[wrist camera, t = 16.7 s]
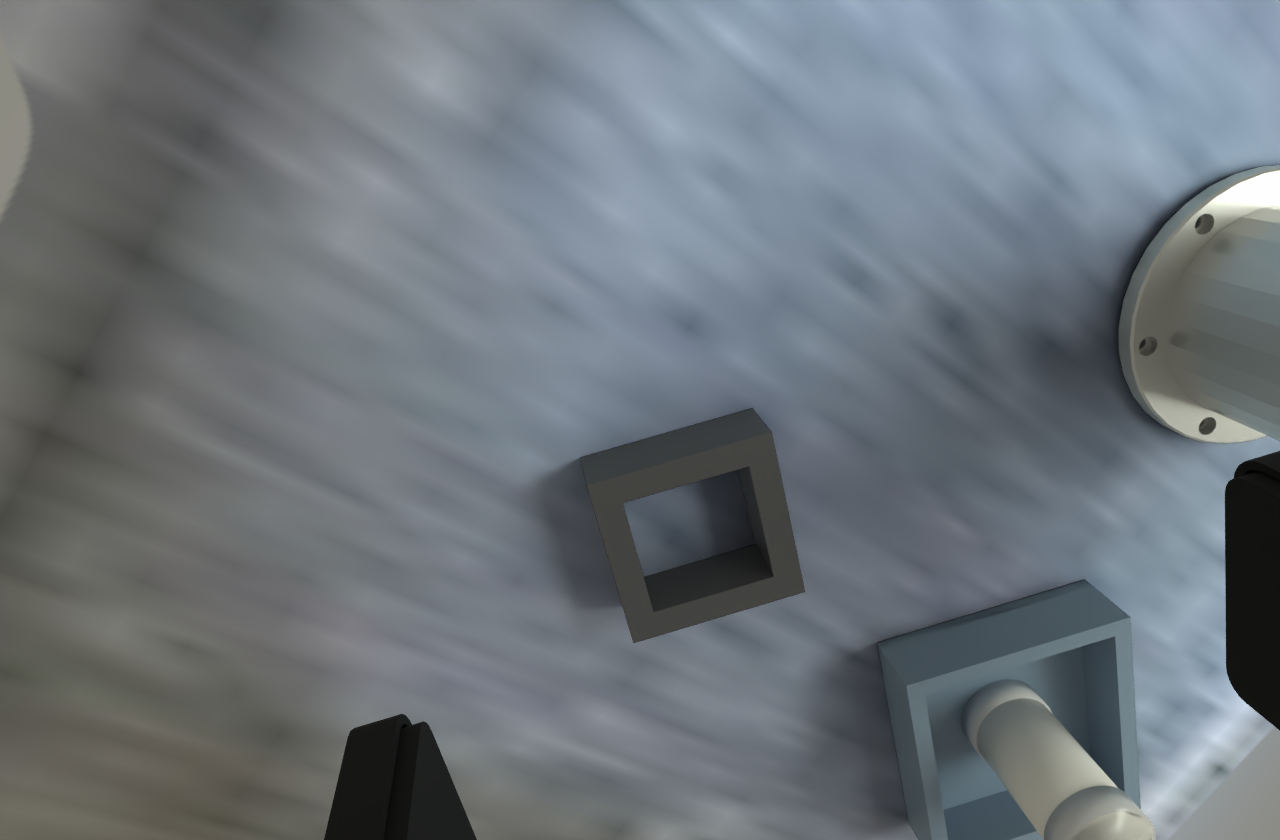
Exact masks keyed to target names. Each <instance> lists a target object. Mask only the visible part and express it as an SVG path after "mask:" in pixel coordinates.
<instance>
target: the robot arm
mask: <svg viewBox="0 0 1280 840" xmlns="http://www.w3.org/2000/svg"><path fill="white" fill-rule="evenodd" d="M1119 355H1120V360H1121V365H1122V370H1123V375H1124V377H1125V379H1126V382H1127V384H1128V386H1129V388H1130V391H1131V393H1132V395H1133V396H1134V398H1135V399H1136V400H1137V402H1138V403H1139V404H1140V405H1141V407H1142V408H1143V409H1144V411H1145V412H1146V413H1147V414H1149V415H1150V416H1151V417H1152V418H1154V419H1155V420H1156V421H1158V422H1159V423H1160V424H1161V425H1163V426H1165V427H1167V428H1169V429H1171V430H1173V431H1175V432H1177V433H1179V434H1181V435H1183V436H1185V437H1188V438H1191V439H1194V440H1197V441H1200V442H1207V443H1218V444H1231V443H1240V442H1249V441H1252V440H1256V439H1259V438H1262V437H1266V436H1269V437H1272V438H1274V439H1276V440H1278V441H1280V165H1272V166H1261V167H1257V168H1254V169H1250V170H1247V171H1243V172H1239V173H1236V174H1234V175H1232V176H1230V177H1228V178H1226V179H1223V180H1221V181H1219V182H1217V183H1215V184H1213V185H1211V186H1209V187H1208V188H1207V189H1205V190H1204V191H1202V192H1201V193H1200V194H1198V195H1197V196H1195V197H1194V198H1193V199H1191V200H1190V201H1188V202H1187V203H1186V204H1185V205H1184V206H1183V207H1182V208H1181V209H1180V210H1179V211H1178V212H1177V213H1176V214H1175V215H1174V216H1173V217H1172V218H1171V219H1169V220H1168V221H1167V222H1166V223H1165V224H1164V226H1163V227H1162V228H1161V230H1160V231H1159V232H1158V234H1157V235H1156V236H1155V238H1154V239H1153V240H1152V242H1151V243H1150V244H1149V246H1148V247H1147V249H1146V250H1145V252H1144V254H1143V256H1142V258H1141V260H1140V261H1139V263H1138V265H1137V267H1136V269H1135V271H1134V273H1133V275H1132V278H1131V280H1130V283H1129V286H1128V289H1127V292H1126V295H1125V297H1124V300H1123V306H1122V311H1121V317H1120V322H1119ZM1225 559H1226V668H1227V674H1228V677H1229V680H1230V682H1231V684H1232V686H1233V688H1234V690H1235V691H1236V692H1237V694H1238V695H1239V696H1240V697H1241V698H1242V699H1243V700H1244V701H1245V702H1246V703H1247V704H1248V705H1249V706H1251V707H1252V708H1253V709H1254V710H1256V711H1257V712H1258V713H1259V714H1260V715H1262V716H1263V717H1264V718H1265V719H1267V720H1268V721H1269V722H1270V723H1271V724H1273V725H1274V726H1275V727H1276V728H1278V729H1279V730H1280V451H1278V452H1275V453H1272V454H1268V455H1265V456H1262V457H1258V458H1255V459H1252V460H1248V461H1245V462H1243V463H1242V464H1240V465H1239V466H1238V468H1237V469H1236V471H1235V474H1234V478H1233V479H1232V480H1230V481H1229V482H1228V484H1227V486H1226V490H1225ZM324 840H477V839H476V837H475V834H474V832H473V830H472V827H471V825H470V822H469V820H468V817H467V815H466V813H465V810H464V808H463V805H462V803H461V801H460V798H459V796H458V793H457V791H456V789H455V786H454V784H453V781H452V779H451V777H450V774H449V772H448V769H447V767H446V764H445V762H444V760H443V757H442V755H441V752H440V750H439V748H438V745H437V743H436V740H435V738H434V736H433V733H432V731H431V729H430V727H429V725H428V724H427V723H426V722H421V723H417V724H414V725H412V724H411V722H410V720H409V719H408V718H407V716H406V715H403V714H400V715H397V716H393V717H390V718H387V719H383V720H380V721H377V722H373V723H370V724H367V725H363V726H360V727H357V728H354V729H353V730H351V731H350V734H349V736H348V739H347V744H346V748H345V752H344V756H343V761H342V765H341V769H340V774H339V778H338V782H337V787H336V791H335V795H334V800H333V804H332V808H331V812H330V817H329V821H328V825H327V830H326V834H325V838H324Z"/></svg>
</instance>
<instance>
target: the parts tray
mask: <svg viewBox="0 0 1280 840" xmlns="http://www.w3.org/2000/svg"><path fill="white" fill-rule="evenodd" d="M877 647H878V653H879V658H880V664H881V669H882V675H883V681H884V686H885V692H886V697H887V703H888V708H889V714H890V720H891V725H892V731H893V736H894V742H895V748H896V753H897V759H898V764H899V770H900V776H901V781H902V787H903V792H904V798H905V804H906V809H907V815H908V820H909V824H910V826H911V827H912V829H913V831H914V833H915V834H916V836H917V838H918V840H1043V839H1042V837H1041V836H1040V834H1039V833H1038V832H1037V830H1036V829H1035V828H1034V826H1033V825H1032V823H1031V822H1030V821H1029V819H1028V818H1027V817H1026V815H1025V814H1024V812H1023V811H1022V810H1021V808H1020V807H1019V806H1018V804H1017V803H1016V801H1015V800H1014V799H1013V797H1012V796H1011V795H1010V793H1009V792H1008V790H1007V789H1006V788H1005V786H1004V785H1003V784H1002V782H1001V781H1000V779H999V778H998V777H997V775H996V774H995V773H994V771H993V770H992V769H991V767H990V766H989V764H988V763H987V762H986V761H985V760H984V759H982V758H981V757H980V755H979V754H978V753H977V751H976V750H975V749H974V747H973V746H972V744H971V743H970V742H969V740H968V739H967V738H966V736H965V734H964V733H963V730H962V726H961V718H962V713H963V710H964V708H965V706H966V704H967V703H968V701H969V700H970V698H971V697H972V696H973V695H974V694H975V693H976V692H977V691H979V690H980V689H981V688H983V687H984V686H986V685H988V684H990V683H993V682H995V681H999V680H1005V679H1013V680H1019V681H1022V682H1024V683H1026V684H1028V685H1029V686H1030V687H1031V688H1032V689H1033V690H1034V691H1035V692H1036V693H1037V694H1038V695H1039V696H1040V698H1041V699H1042V700H1043V701H1044V702H1045V703H1046V704H1047V705H1048V707H1049V708H1050V710H1051V712H1052V714H1053V715H1054V716H1055V717H1056V719H1057V720H1058V721H1059V722H1060V723H1061V724H1062V725H1063V726H1064V728H1065V729H1066V730H1067V731H1068V732H1069V733H1070V734H1071V735H1072V737H1073V738H1074V739H1075V740H1076V741H1077V742H1078V743H1079V744H1080V746H1081V747H1082V748H1083V749H1084V750H1085V751H1086V752H1087V753H1088V755H1089V756H1090V757H1091V758H1092V759H1093V760H1094V761H1095V762H1096V764H1097V765H1098V766H1099V767H1100V768H1101V769H1102V770H1103V771H1104V773H1105V774H1106V775H1107V776H1108V777H1109V778H1110V779H1111V780H1112V782H1113V783H1114V784H1115V785H1116V786H1117V787H1118V788H1119V789H1120V790H1122V791H1124V792H1125V793H1126V794H1127V795H1128V796H1129V797H1130V798H1131V799H1132V800H1133V802H1134V803H1135V804H1136V805H1137V806H1138V807H1139V808H1140V809H1141V806H1140V787H1139V768H1138V750H1137V731H1136V712H1135V694H1134V675H1133V656H1132V637H1131V619H1130V616H1128V615H1127V614H1126V613H1125V612H1124V611H1122V610H1121V609H1120V608H1119V607H1118V606H1116V605H1115V604H1114V603H1113V602H1112V601H1110V600H1109V599H1108V598H1107V597H1106V596H1104V595H1103V594H1102V593H1101V592H1100V591H1098V590H1097V589H1096V588H1095V587H1094V586H1092V585H1091V584H1090V583H1089V582H1088V581H1086V580H1082V581H1079V582H1076V583H1072V584H1069V585H1066V586H1062V587H1059V588H1056V589H1052V590H1049V591H1046V592H1043V593H1039V594H1036V595H1033V596H1029V597H1026V598H1023V599H1020V600H1016V601H1013V602H1010V603H1006V604H1003V605H1000V606H996V607H993V608H990V609H987V610H983V611H980V612H977V613H973V614H970V615H967V616H964V617H960V618H957V619H954V620H950V621H947V622H944V623H940V624H937V625H934V626H931V627H927V628H924V629H921V630H917V631H914V632H911V633H908V634H904V635H901V636H898V637H894V638H891V639H888V640H884V641H881V642H878V643H877Z"/></svg>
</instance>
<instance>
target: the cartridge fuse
mask: <svg viewBox="0 0 1280 840" xmlns="http://www.w3.org/2000/svg"><path fill="white" fill-rule="evenodd" d="M961 726H962V730H963V733H964V734H965V736H966V738H967V739H968V740H969V742H970V743H971V744H972V746H973V747H974V749H975V750H976V751H977V753H978V754H979V755H980V757H981V758H982V759H984V760H985V761H986V762H987V763H988V764H989V766H990V767H991V769H992V770H993V771H994V773H995V774H996V775H997V777H998V778H999V779H1000V781H1001V782H1002V784H1003V785H1004V786H1005V788H1006V789H1007V790H1008V792H1009V793H1010V795H1011V796H1012V797H1013V799H1014V800H1015V801H1016V803H1017V804H1018V806H1019V807H1020V808H1021V810H1022V811H1023V812H1024V814H1025V815H1026V817H1027V818H1028V819H1029V821H1030V822H1031V823H1032V825H1033V826H1034V828H1035V829H1036V830H1037V832H1038V833H1039V834H1040V836H1041V837H1042V839H1043V840H1155V829H1154V826H1153V824H1152V822H1151V821H1150V820H1149V818H1148V817H1147V816H1146V815H1145V814H1144V813H1143V812H1142V811H1141V809H1140V808H1139V807H1138V806H1137V805H1136V804H1135V803H1134V802H1133V800H1132V799H1131V798H1130V797H1129V796H1128V795H1127V794H1126V793H1125V792H1124V791H1122V790H1120V789H1119V788H1118V787H1117V786H1116V785H1115V784H1114V783H1113V782H1112V780H1111V779H1110V778H1109V777H1108V776H1107V775H1106V774H1105V773H1104V771H1103V770H1102V769H1101V768H1100V767H1099V766H1098V765H1097V764H1096V762H1095V761H1094V760H1093V759H1092V758H1091V757H1090V756H1089V755H1088V753H1087V752H1086V751H1085V750H1084V749H1083V748H1082V747H1081V746H1080V744H1079V743H1078V742H1077V741H1076V740H1075V739H1074V738H1073V737H1072V735H1071V734H1070V733H1069V732H1068V731H1067V730H1066V729H1065V728H1064V726H1063V725H1062V724H1061V723H1060V722H1059V721H1058V720H1057V719H1056V717H1055V716H1054V715H1053V714H1052V712H1051V710H1050V708H1049V707H1048V705H1047V704H1046V703H1045V702H1044V701H1043V700H1042V699H1041V698H1040V696H1039V695H1038V694H1037V693H1036V692H1035V691H1034V690H1033V689H1032V688H1031V687H1030V686H1029V685H1028V684H1026V683H1024V682H1022V681H1019V680H1013V679H1005V680H999V681H995V682H993V683H990V684H988V685H986V686H984V687H983V688H981V689H980V690H979V691H977V692H976V693H975V694H974V695H973V696H972V697H971V698H970V700H969V701H968V703H967V704H966V706H965V708H964V710H963V713H962V718H961Z"/></svg>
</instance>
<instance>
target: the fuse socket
mask: <svg viewBox="0 0 1280 840" xmlns="http://www.w3.org/2000/svg"><path fill="white" fill-rule="evenodd" d="M581 463H582V467H583V472H584V476H585V481H586V485H587V489H588V492H589V495H590V499H591V502H592V505H593V509H594V512H595V515H596V519H597V522H598V525H599V529H600V532H601V536H602V539H603V542H604V546H605V549H606V552H607V556H608V559H609V562H610V566H611V569H612V572H613V576H614V579H615V583H616V586H617V589H618V593H619V596H620V599H621V603H622V606H623V609H624V613H625V616H626V619H627V623H628V626H629V630H630V633H631V636H632V640H633V643H636V642H639V641H643V640H646V639H649V638H653V637H656V636H659V635H663V634H666V633H669V632H673V631H676V630H679V629H683V628H686V627H690V626H693V625H696V624H700V623H703V622H706V621H710V620H713V619H716V618H720V617H723V616H726V615H730V614H733V613H736V612H740V611H743V610H746V609H750V608H753V607H756V606H760V605H763V604H766V603H770V602H773V601H776V600H780V599H783V598H786V597H790V596H793V595H796V594H800V593H803V592H805V589H804V584H803V580H802V575H801V570H800V565H799V560H798V556H797V551H796V546H795V541H794V536H793V532H792V527H791V522H790V517H789V512H788V508H787V503H786V498H785V493H784V489H783V484H782V479H781V474H780V469H779V465H778V460H777V455H776V450H775V445H774V441H773V436H772V432H771V430H770V429H769V428H768V427H767V425H766V424H765V423H764V422H763V420H762V419H761V418H760V417H759V415H758V414H757V413H756V412H755V411H754V409H753V408H751V409H747V410H744V411H740V412H737V413H733V414H730V415H726V416H723V417H719V418H716V419H713V420H709V421H706V422H702V423H699V424H695V425H692V426H688V427H685V428H681V429H678V430H674V431H671V432H667V433H664V434H660V435H657V436H653V437H650V438H647V439H643V440H640V441H636V442H633V443H629V444H626V445H622V446H619V447H615V448H612V449H608V450H605V451H601V452H598V453H594V454H591V455H587V456H584V457H581ZM735 470H739V474H740V478H741V483H742V487H743V492H744V496H745V500H746V505H747V509H748V514H749V518H750V522H751V527H752V531H753V536H754V540H755V545H752V546H749V547H745V548H742V549H738V550H735V551H732V552H728V553H725V554H722V555H718V556H715V557H711V558H708V559H705V560H701V561H698V562H694V563H691V564H688V565H684V566H681V567H678V568H674V569H671V570H667V571H664V572H661V573H657V574H654V575H651V576H647V577H644V576H643V573H642V569H641V566H640V562H639V559H638V555H637V552H636V548H635V545H634V541H633V538H632V534H631V531H630V527H629V524H628V520H627V517H626V513H625V510H624V506H623V503H625V502H628V501H632V500H635V499H639V498H642V497H645V496H649V495H652V494H656V493H659V492H663V491H666V490H669V489H673V488H676V487H680V486H683V485H687V484H690V483H693V482H697V481H700V480H704V479H707V478H711V477H714V476H718V475H721V474H724V473H728V472H731V471H735Z"/></svg>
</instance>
